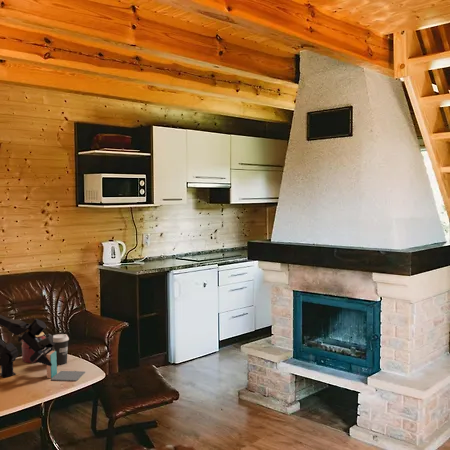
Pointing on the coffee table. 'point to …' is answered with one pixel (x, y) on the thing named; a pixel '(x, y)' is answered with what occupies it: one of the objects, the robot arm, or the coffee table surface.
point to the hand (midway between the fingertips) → (54, 363)
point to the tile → (52, 369)
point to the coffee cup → (61, 348)
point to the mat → (68, 376)
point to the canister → (29, 352)
